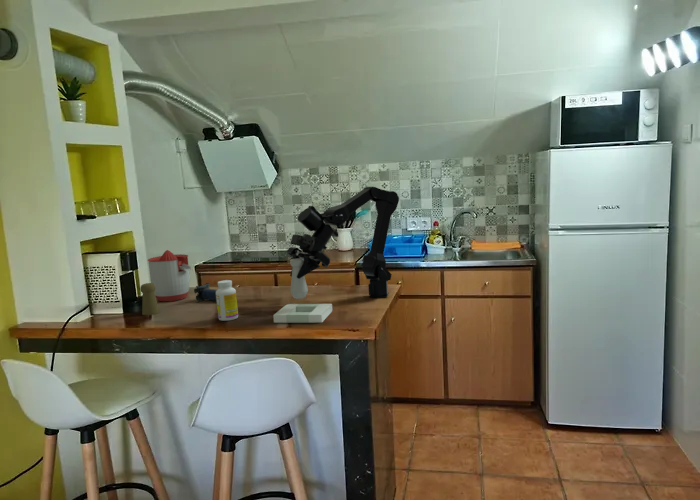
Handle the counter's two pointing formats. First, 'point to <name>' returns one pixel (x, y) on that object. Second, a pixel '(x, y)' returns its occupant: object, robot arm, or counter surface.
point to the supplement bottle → (226, 301)
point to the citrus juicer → (170, 276)
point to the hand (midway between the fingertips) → (294, 277)
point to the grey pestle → (298, 280)
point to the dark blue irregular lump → (205, 293)
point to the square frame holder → (302, 313)
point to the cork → (149, 299)
